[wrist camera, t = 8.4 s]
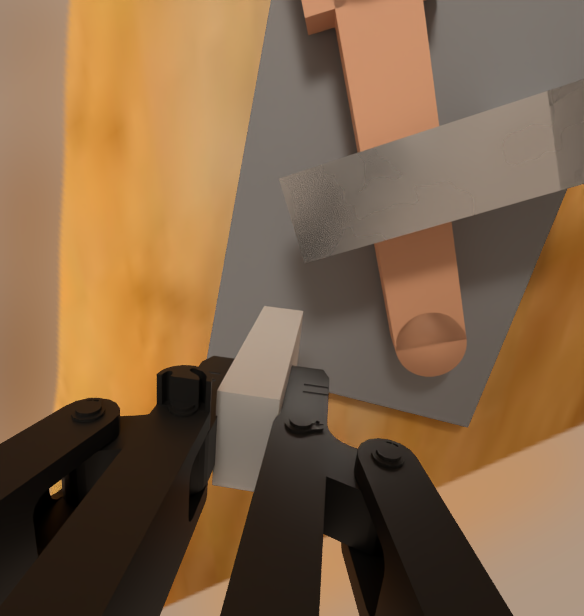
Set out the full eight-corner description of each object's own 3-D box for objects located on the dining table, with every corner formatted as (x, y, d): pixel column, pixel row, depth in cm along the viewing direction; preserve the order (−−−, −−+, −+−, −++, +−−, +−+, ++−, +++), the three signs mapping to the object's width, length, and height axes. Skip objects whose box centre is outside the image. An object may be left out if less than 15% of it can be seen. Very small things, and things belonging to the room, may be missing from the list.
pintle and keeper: (342, -136, 16) (345, -279, 11) (653, 53, 16) (789, 0, 12) (204, 182, 20) (159, 184, 15) (461, 323, 20) (501, 370, 15)
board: (329, -288, 15) (329, -325, 14) (713, -206, 15) (744, -238, 14) (212, 352, 23) (206, 361, 22) (461, 415, 23) (467, 427, 22)
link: (278, -120, 16) (269, -161, 14) (420, -172, 15) (432, -222, 13) (373, 366, 21) (376, 385, 19) (481, 348, 20) (496, 366, 18)
